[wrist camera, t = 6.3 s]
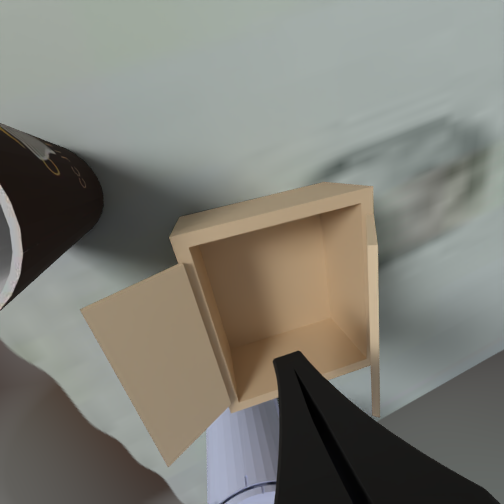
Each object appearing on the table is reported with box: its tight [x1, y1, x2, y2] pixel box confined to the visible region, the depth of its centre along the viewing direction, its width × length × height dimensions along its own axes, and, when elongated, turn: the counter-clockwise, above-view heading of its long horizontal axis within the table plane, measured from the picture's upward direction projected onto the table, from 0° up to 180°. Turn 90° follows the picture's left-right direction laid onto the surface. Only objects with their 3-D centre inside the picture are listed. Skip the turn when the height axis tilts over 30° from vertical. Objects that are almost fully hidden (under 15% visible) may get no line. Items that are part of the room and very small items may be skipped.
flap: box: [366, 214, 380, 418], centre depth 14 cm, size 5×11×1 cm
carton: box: [169, 182, 374, 413], centre depth 18 cm, size 14×12×6 cm
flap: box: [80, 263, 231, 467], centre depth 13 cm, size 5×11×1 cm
